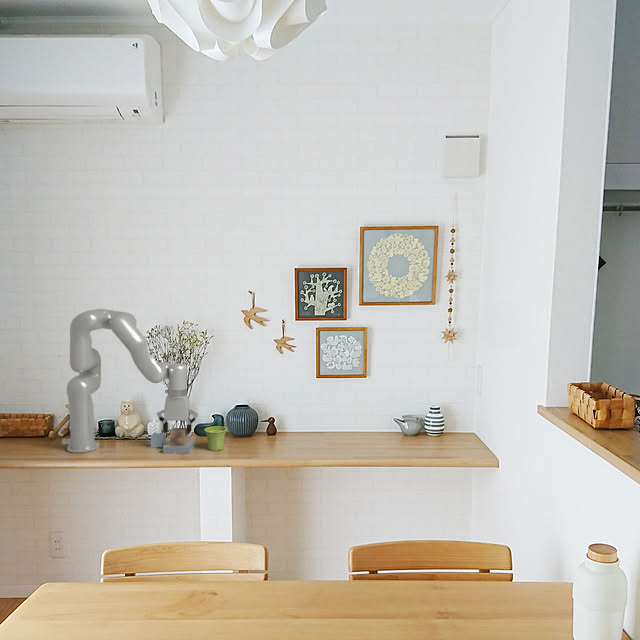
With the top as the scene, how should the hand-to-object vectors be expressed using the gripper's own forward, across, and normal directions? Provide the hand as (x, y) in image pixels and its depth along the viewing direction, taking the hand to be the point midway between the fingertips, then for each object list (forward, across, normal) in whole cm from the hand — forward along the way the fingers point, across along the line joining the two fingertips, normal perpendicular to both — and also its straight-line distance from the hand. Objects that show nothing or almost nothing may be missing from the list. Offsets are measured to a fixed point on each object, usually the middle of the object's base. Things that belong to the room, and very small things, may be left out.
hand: (177, 432), depth 254 cm
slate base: (+7, +1, 0) cm, 7 cm away
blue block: (+8, -10, +5) cm, 13 cm away
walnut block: (+5, +1, 0) cm, 5 cm away
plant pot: (+7, +16, +1) cm, 18 cm away
